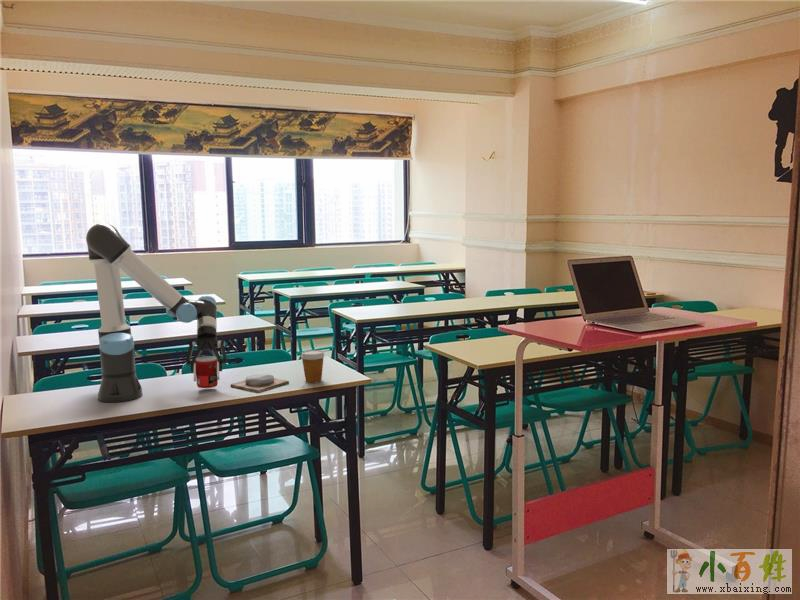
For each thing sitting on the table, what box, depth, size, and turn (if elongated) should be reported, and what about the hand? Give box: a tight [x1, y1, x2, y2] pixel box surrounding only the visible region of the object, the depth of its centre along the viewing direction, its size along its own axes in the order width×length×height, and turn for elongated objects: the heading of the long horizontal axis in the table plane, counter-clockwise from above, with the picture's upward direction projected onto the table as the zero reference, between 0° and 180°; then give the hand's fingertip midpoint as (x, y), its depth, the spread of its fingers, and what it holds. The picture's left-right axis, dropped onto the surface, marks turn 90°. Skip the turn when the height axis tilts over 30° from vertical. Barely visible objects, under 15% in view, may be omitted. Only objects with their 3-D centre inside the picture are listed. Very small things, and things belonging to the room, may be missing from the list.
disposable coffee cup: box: [300, 349, 325, 384], centre depth 253 cm, size 10×10×12 cm
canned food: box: [196, 355, 219, 389], centre depth 242 cm, size 8×8×11 cm
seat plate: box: [230, 373, 290, 393], centre depth 249 cm, size 16×16×3 cm
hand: (206, 378), depth 239 cm, fingers closed on canned food, 8 cm apart
